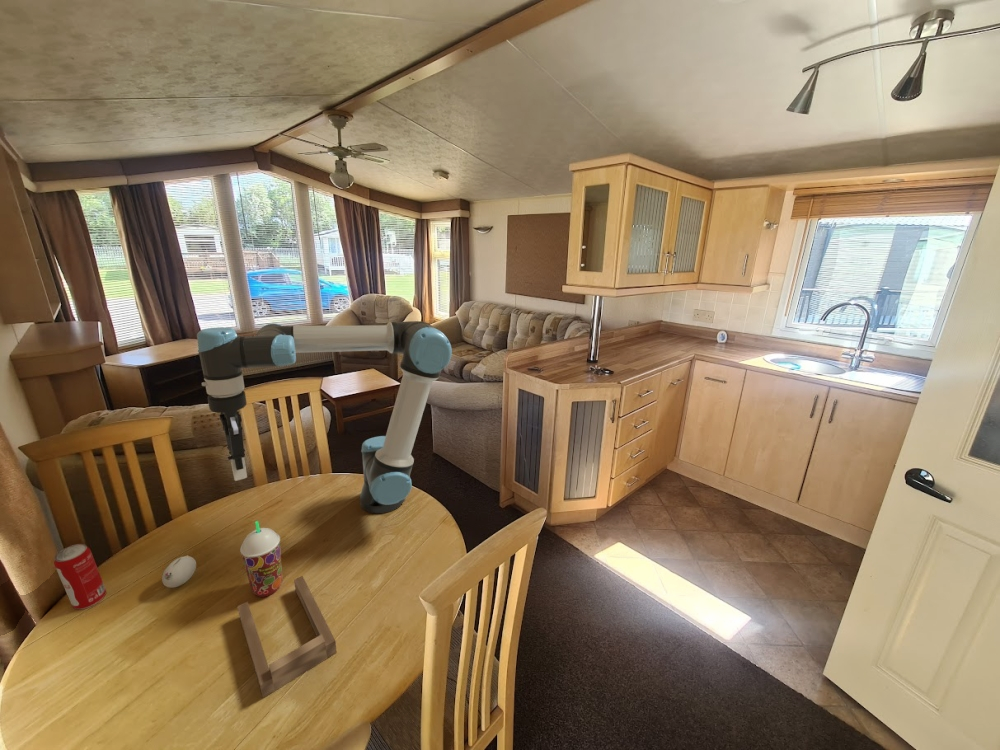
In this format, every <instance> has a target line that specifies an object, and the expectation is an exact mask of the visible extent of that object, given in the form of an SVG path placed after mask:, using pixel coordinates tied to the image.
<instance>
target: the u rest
mask: <svg viewBox="0 0 1000 750" xmlns="http://www.w3.org/2000/svg"><path fill="white" fill-rule="evenodd" d="M293 581H294V588H295V592H296V594H297V597H298V600H299V602H300V603H301V606H302V607H303V610H304V612H305V613H306V616H307V619H308V620H309V623H310V625H311V627H312V629H313V631H314V633H315V637H314V638H313V639H311V640H309V641H307V642H305V643H303V644H302V645H301V646H299V647H297V648H295V649H294V650H292V651H290V652H289V653H287V654H285V655H284V656H281V657H280V658H277V659H276V660H274V661H273V662H271V663H270V664H269V663H268V661H267V658H266V655H265V652H264V649H263V645H262V642H261V639H260V635H259V633H258V630H257V627H256V624H255V620H254V617H253V615H252V611H251V608H250V605H249V601H246V602H244V603H241V604H239V605H237V610H238V616H239V619H240V622H241V627H242V630H243V633H244V637H245V641H246V644H247V648H248V650H249V651H248V652H249V655H250V658H251V662H252V665H253V669H254V672H255V675H256V679H257V681H258V686H259V689H260V693H261V696H262V699H265V698H266V697H268V696H269V695H271V694H273V693H274V692H276V691H277V690H279V689H281V688H282V687H284V686H286V685H287V684H289V683H290V682H292V681H294V680H295V679H297V678H298V677H300V676H302V675H304V674H305V673H306V672H308V671H310V670H311V669H312V668H315V667H316V666H318V665H319V664H321V663H322V662H325V660H327V659H329V658H330V657H332V656H334V655H336V654H337V652H338V651H337V643H336V638H335V637H334V635H333V633H332V631H331V630H330V628H329V625H328V623H327V621H326V619H325V618H324V615H323V613H322V611H321V609H320V607H319V605H318V603H317V601H316V600H315V598H314V596H313V593H312V592H311V589H310V588H309V586H308V584H307V582H306V580H305V578H304V576H303V575H302V576H299V577H297V578H295V579H294V580H293Z"/></svg>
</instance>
